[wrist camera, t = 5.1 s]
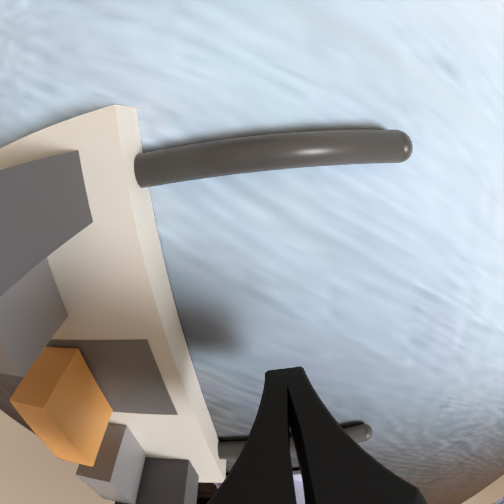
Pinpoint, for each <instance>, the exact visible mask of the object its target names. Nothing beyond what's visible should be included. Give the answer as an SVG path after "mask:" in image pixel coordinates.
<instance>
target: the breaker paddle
mask: <svg viewBox="0 0 504 504" xmlns="http://www.w3.org/2000/svg"><path fill="white" fill-rule="evenodd" d="M9 401H10V402H11V403H12V405H13V406H14V407H15V409H16V410H17V411H18V413H19V414H20V415H21V416H22V418H23V419H24V420H25V421H26V423H27V424H28V425H29V426H30V427H31V429H32V430H33V431H34V432H35V433H36V435H37V436H38V437H39V438H40V439H41V440H42V441H43V442H44V444H45V445H46V446H47V447H48V448H49V449H50V450H51V451H52V452H53V453H54V454H55V455H56V456H57V457H58V458H59V459H62V460H66V461H70V462H74V463H79V464H82V465H87V466H91V467H93V465H94V462H95V459H96V456H97V454H98V451H99V448H100V445H101V442H102V439H103V436H104V433H105V431H106V428H107V425H108V422H109V420H110V417H111V414H112V412H113V409H112V408H111V406H110V405H109V403H108V401H107V400H106V398H105V396H104V395H103V393H102V391H101V389H100V388H99V386H98V384H97V382H96V381H95V379H94V377H93V375H92V373H91V372H90V370H89V368H88V366H87V364H86V362H85V360H84V358H83V356H82V354H81V352H80V350H79V348H56V347H45V348H44V349H43V351H42V352H41V354H40V355H39V356H38V358H37V359H36V361H35V362H34V364H33V365H32V366H31V368H30V369H29V371H28V372H27V374H26V375H25V377H24V378H23V380H22V381H21V383H20V384H19V386H18V387H17V389H16V390H15V392H14V393H13V395H12V397H11V398H10V400H9Z"/></svg>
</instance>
